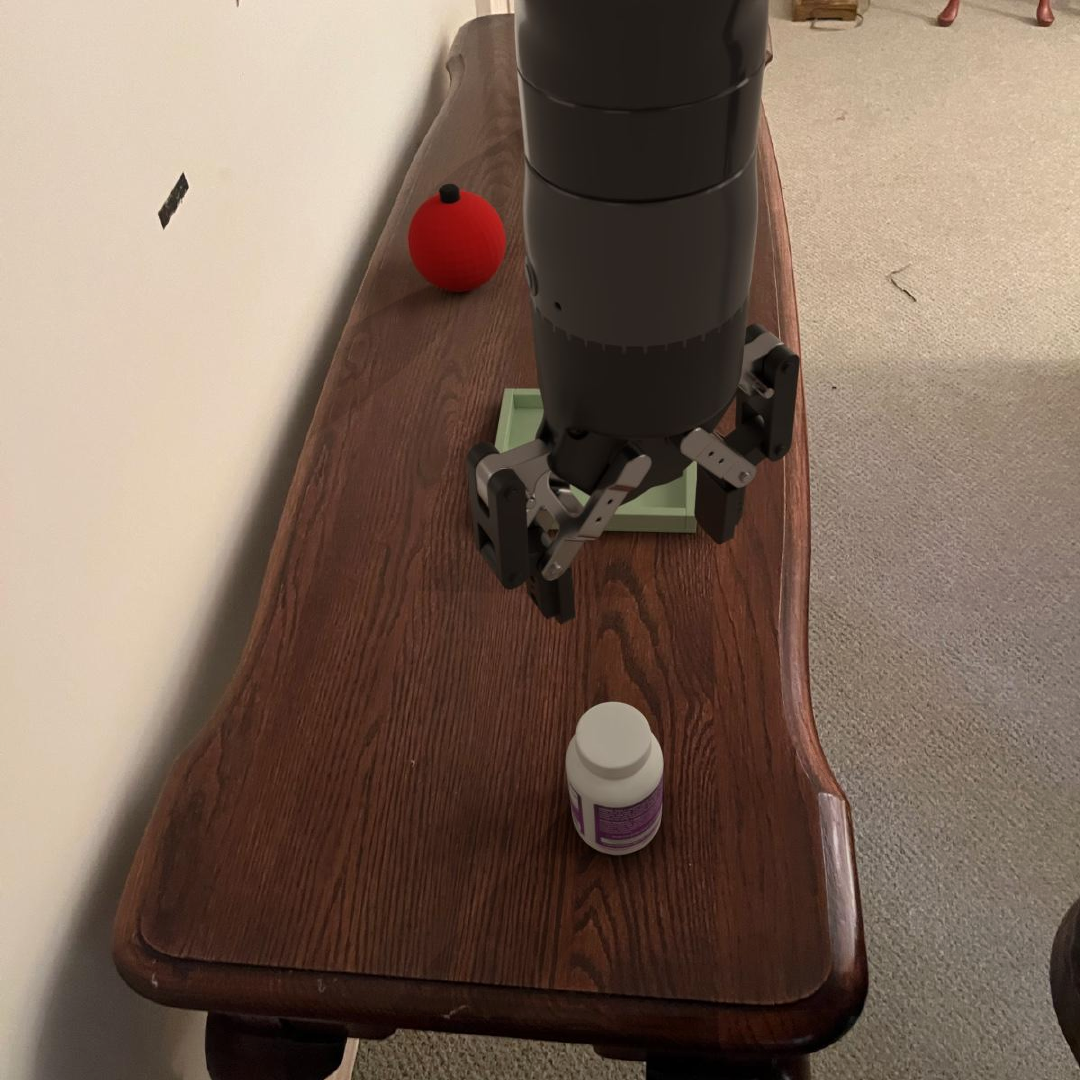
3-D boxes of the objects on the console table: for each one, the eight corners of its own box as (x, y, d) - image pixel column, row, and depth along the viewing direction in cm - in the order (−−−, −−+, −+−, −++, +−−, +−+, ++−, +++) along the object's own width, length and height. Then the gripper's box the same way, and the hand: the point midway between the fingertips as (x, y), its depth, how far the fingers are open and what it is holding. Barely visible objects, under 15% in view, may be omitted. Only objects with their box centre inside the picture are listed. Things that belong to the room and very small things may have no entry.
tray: (694, 407, 82) (696, 389, 80) (695, 533, 73) (697, 515, 71) (506, 405, 83) (504, 387, 82) (485, 528, 75) (482, 511, 73)
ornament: (428, 254, 99) (410, 159, 91) (517, 256, 97) (507, 160, 90) (407, 310, 93) (386, 214, 85) (501, 313, 92) (489, 216, 84)
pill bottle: (677, 797, 60) (683, 715, 52) (636, 874, 57) (637, 798, 50) (597, 759, 62) (593, 674, 54) (554, 830, 59) (543, 751, 52)
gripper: (505, 412, 29) (543, 699, 42) (880, 249, 33) (813, 557, 46) (401, 286, 34) (463, 580, 46) (743, 156, 38) (716, 459, 50)
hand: (637, 568), depth 46 cm, fingers open, 8 cm apart
